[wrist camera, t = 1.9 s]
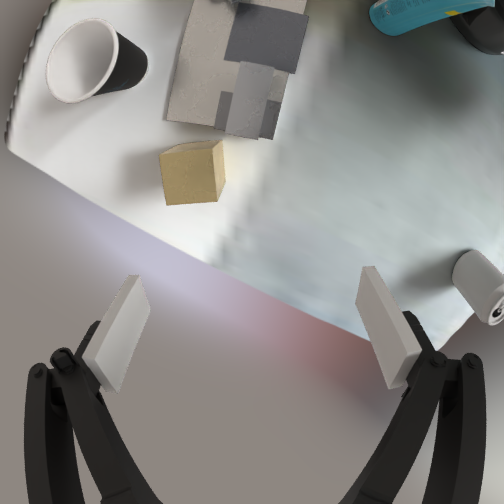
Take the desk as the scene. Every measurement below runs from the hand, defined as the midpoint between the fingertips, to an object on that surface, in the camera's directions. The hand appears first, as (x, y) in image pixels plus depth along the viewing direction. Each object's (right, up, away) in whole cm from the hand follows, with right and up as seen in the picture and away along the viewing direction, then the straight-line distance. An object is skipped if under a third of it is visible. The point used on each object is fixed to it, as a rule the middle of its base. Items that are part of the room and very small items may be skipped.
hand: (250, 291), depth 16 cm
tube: (+16, +30, +4) cm, 34 cm away
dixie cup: (-14, +23, +9) cm, 29 cm away
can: (+36, 0, +21) cm, 42 cm away
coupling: (-6, +12, +15) cm, 20 cm away
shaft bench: (-1, +26, +7) cm, 27 cm away
